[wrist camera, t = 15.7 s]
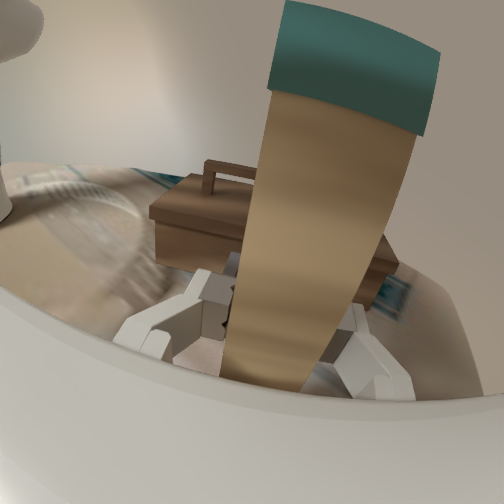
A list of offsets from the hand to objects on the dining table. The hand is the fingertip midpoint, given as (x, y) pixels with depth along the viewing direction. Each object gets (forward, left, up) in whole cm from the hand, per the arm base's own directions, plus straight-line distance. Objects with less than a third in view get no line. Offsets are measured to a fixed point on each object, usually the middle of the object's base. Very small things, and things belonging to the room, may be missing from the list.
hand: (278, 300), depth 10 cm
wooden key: (-1, -1, -12) cm, 12 cm away
